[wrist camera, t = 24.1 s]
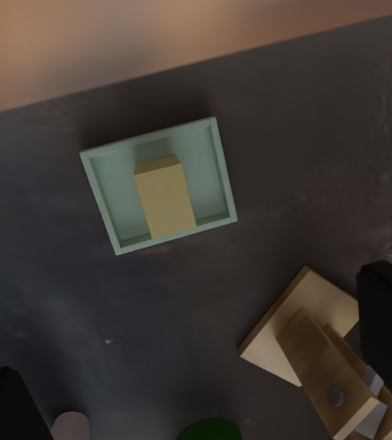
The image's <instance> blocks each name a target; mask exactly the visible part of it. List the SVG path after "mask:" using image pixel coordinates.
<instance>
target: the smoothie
mask: <svg viewBox="0 0 392 440" xmlns="http://www.w3.org/2000/svg"><path fill="white" fill-rule="evenodd" d="M50 433H51V435H52V436H53V438H54V440H89V420H88V418H87V417H86V416H85V415H84V414H82V413H79V412H74V411H72V412H66V413H63V414H61V415H60V416H58V417H57V418H56V420H55V422H54V424H53V427H52V429H51V431H50Z"/></svg>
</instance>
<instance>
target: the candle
mask: <svg viewBox="0 0 392 440" xmlns="http://www.w3.org/2000/svg"><path fill="white" fill-rule="evenodd" d="M177 440H242V437H241V434H240V431H239V430H238V429H237V427H236V426H235V425H233V424H232V423H230V422H228V421H225V420H221V419H208V420H203V421H200V422H197V423H195V424H193V425H191V426H189V427H188V428H187V429H185V430H184V431H183V432H182V433H181V434H180V436H179V437H178V439H177Z"/></svg>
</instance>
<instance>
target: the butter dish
mask: <svg viewBox="0 0 392 440" xmlns="http://www.w3.org/2000/svg"><path fill="white" fill-rule="evenodd" d="M170 154H176V156H177V157H178V159H179V160H180V162H181V163H182V167H183V171H184V175H185V179H186V183H187V188H188V192H189V196H190V200H191V204H192V208H193V212H194V217H195V221H196V225H197V227H195V228H192V229H188V230H184V231H180V232H177V233H173V234H169V235H165V236H162V237H158V238H154V239H152V237H151V234H150V231H149V227H148V224H147V220H146V217H145V214H144V210H143V207H142V204H141V200H140V197H139V193H138V190H137V187H136V183H135V180H134V176H133V174H134V169H135V163H138V162H142V161H146V160H150V159H154V158H158V157H162V156H166V155H170ZM79 155H80V157H81V160H82V163H83V166H84V168H85V171H86V174H87V177H88V179H89V182H90V185H91V188H92V190H93V193H94V196H95V199H96V201H97V204H98V207H99V210H100V212H101V215H102V218H103V221H104V223H105V226H106V229H107V232H108V235H109V237H110V240H111V243H112V246H113V248H114V251H115V254H116V255H120V254H122V253H127V252H130V251H134V250H137V249H141V248H144V247H148V246H151V245H155V244H158V243H162V242H165V241H169V240H173V239H176V238H180V237H183V236H187V235H190V234H194V233H197V232H201V231H204V230H208V229H211V228H215V227H218V226H222V225H225V224H229V223H231V222H236V221H238V219H237V214H236V210H235V205H234V200H233V196H232V191H231V186H230V182H229V177H228V172H227V168H226V163H225V158H224V154H223V149H222V144H221V140H220V135H219V130H218V126H217V121H216V117H211V116H210V117H206V118H203V119H199V120H195V121H191V122H187V123H184V124H180V125H176V126H172V127H169V128H165V129H161V130H157V131H153V132H150V133H146V134H142V135H138V136H134V137H131V138H127V139H123V140H119V141H116V142H112V143H108V144H104V145H100V146H97V147H93V148H89V149H85V150H83V151H82V152H80V153H79Z"/></svg>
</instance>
